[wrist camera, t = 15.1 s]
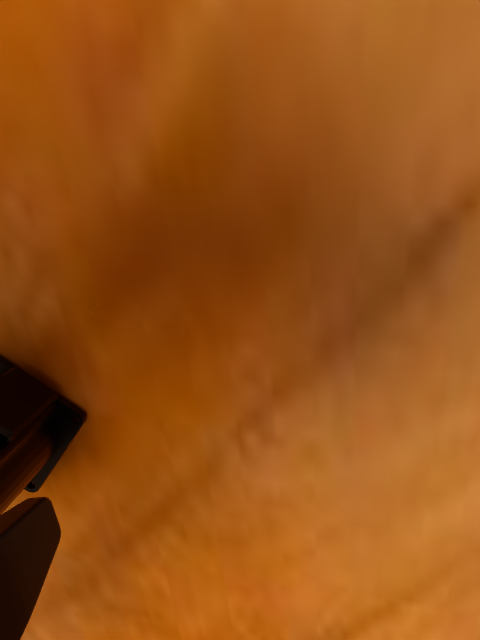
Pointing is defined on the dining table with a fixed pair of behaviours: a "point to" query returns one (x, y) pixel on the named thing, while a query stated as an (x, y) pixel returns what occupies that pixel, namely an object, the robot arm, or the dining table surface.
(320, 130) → the dining table surface
